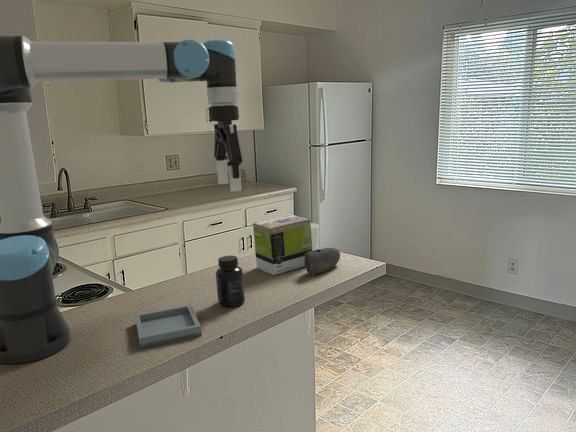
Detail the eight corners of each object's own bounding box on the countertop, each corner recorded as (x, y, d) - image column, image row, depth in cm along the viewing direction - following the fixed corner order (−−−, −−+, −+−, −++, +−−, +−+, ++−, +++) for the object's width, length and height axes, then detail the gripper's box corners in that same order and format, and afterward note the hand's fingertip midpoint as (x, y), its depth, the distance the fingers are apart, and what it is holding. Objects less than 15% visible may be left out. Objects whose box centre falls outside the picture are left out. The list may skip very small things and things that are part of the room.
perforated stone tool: (334, 262, 148) (333, 241, 146) (346, 266, 144) (346, 244, 143) (298, 275, 138) (297, 252, 137) (311, 279, 135) (310, 256, 133)
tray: (140, 348, 99) (139, 338, 99) (136, 323, 111) (135, 314, 111) (201, 335, 104) (200, 325, 103) (191, 313, 116) (190, 304, 115)
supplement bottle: (247, 297, 124) (244, 253, 121) (242, 308, 117) (238, 262, 114) (221, 297, 124) (217, 254, 122) (215, 308, 118) (211, 262, 115)
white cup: (307, 260, 151) (305, 230, 149) (291, 255, 157) (289, 226, 155) (324, 254, 156) (324, 225, 154) (308, 249, 162) (307, 221, 160)
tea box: (294, 257, 155) (292, 213, 151) (313, 265, 146) (312, 218, 143) (255, 267, 146) (252, 221, 143) (272, 276, 138) (270, 227, 135)
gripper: (251, 103, 110) (257, 192, 115) (226, 105, 133) (231, 180, 138) (220, 104, 108) (227, 196, 113) (199, 106, 131) (205, 182, 135)
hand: (229, 187), depth 125 cm, fingers open, 13 cm apart
